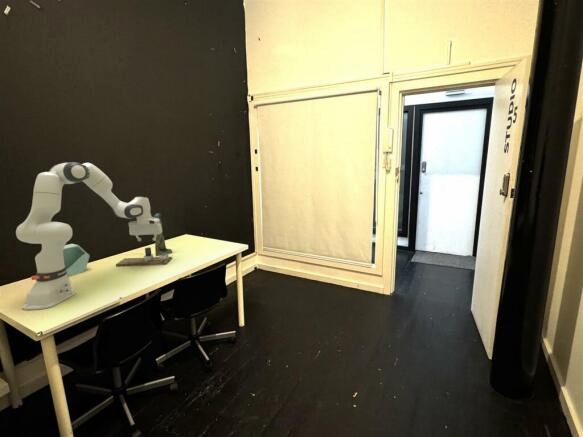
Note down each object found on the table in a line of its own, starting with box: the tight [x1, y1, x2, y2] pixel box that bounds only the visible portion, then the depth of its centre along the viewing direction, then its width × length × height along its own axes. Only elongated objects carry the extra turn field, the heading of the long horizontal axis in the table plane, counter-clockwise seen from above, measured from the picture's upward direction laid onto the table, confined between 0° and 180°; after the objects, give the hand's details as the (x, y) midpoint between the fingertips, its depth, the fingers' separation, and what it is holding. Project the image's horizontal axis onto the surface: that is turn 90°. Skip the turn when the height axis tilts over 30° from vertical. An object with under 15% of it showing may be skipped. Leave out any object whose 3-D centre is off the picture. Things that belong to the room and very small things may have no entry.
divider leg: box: [143, 247, 154, 262], centre depth 202 cm, size 8×4×8 cm, turn 4°
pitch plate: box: [115, 253, 173, 268], centre depth 204 cm, size 12×32×6 cm, turn 94°
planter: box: [63, 243, 90, 277], centre depth 186 cm, size 17×8×21 cm
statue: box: [153, 213, 173, 257], centre depth 221 cm, size 7×11×30 cm, turn 124°
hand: (147, 240), depth 202 cm, fingers open, 8 cm apart
